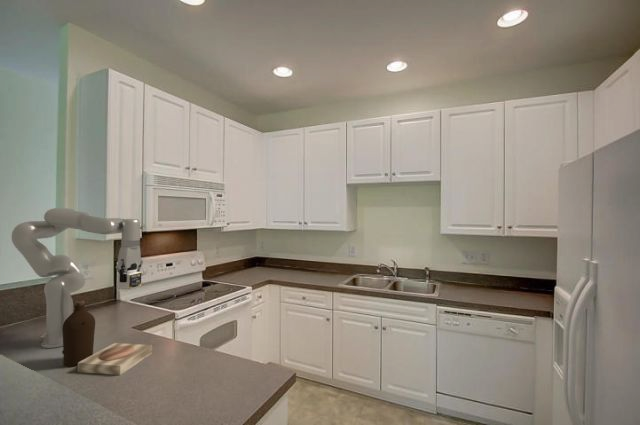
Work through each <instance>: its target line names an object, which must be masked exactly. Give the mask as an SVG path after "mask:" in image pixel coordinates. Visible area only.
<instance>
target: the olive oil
mask: <svg viewBox="0 0 640 425" xmlns="http://www.w3.org/2000/svg"><path fill="white" fill-rule="evenodd" d="M85 308H86V303H85V300H83V299H82V300H80V299H79V300H76V301H75V302H74V304H73V313H72V314H71V315H70V316H69V317H68V318H67V319H66V320H65V321H64V324H63V327H62V333H63V346H62V351H61V354H62V355H63V357H62V358H63V366H64V367H67V368H73V367H78V362H80V361H82V360H84V359H86V358H88V357H90V356H91V355H93V354H94V344H95V343H94V342H95V332H96V331H95V330H96V319H95V317H94V315H93V314H92V313H90V312H89V311H87V309H85Z"/></svg>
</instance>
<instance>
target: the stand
mask: <svg viewBox="0 0 640 425" xmlns="http://www.w3.org/2000/svg"><path fill="white" fill-rule="evenodd" d="M152 354H153V345H152V344H137V343H136V344H135V343H122V342H114V343H112V344H109V346H107V347H105V348H102V349H101V350H99V351H96V352H95V353H93V355H91V356H90V357H88V358H86V359H84V360H82V361H80V362H78V366H77V372H78V373H88V374H103V375H113V376H114V375H116V376H121V375H123V374H124V373H126V372H127V371H128V370H130V369H131V368H133V367H134V366H136V365H138V363H140V362H141V361H143V360H144V359H146V358H147V357H149V356H150V355H152Z"/></svg>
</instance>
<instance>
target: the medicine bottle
mask: <svg viewBox="0 0 640 425" xmlns="http://www.w3.org/2000/svg"><path fill="white" fill-rule="evenodd" d="M124 267H125V266H124ZM123 271H124V269H123ZM136 271H137V263H133V264H131V267H130V268H128V269H127V272H126V274H127V282H120V274H119V272H117V283H116V285H117V286H116V288H117V289H123V290H132V289H136V288H138V287H141V286H142V271H139V272H136Z"/></svg>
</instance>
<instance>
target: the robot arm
mask: <svg viewBox="0 0 640 425" xmlns="http://www.w3.org/2000/svg"><path fill="white" fill-rule="evenodd" d="M43 218H44V220H36V221H35V220H33V221H24V222H21V223H18V224H17V225H16V226H15V227H14V228H13V230H12V232H11V241H12V242H11V243H12V244H13V246H14V247H15V248H16V250H18V252H19V253H20V254H21V255H22V256H23V257H24V259H25V261H26V262H27V263H28V264H29V266H30V267H31V268H32V270H33V271H34V273H35V274H36V275H37V276H38V277H40V278H50V277H51V279H49V280H47V282H46V283H45V285H44V288H43V292H44V296H45V302H46V313H45V314H46V319H45V320H46V321H45V322H46V323H45V324H46V325H45V326H46V327H45V332H43V333H42V335H40V339H43V342H41V346H40V347H41V348H43V349H56V348H60V347H63V333H62V327H63V324H64V321H65V320H66V319H67V318H68V317H69V316H70V315H71V314H72V313H73V312H74V301H73V298H72V295H71V294H72V293H75V292H76V291H79V290H81V289H82V288H84V286H85V284H86V280H85V279H86V278H85V275H84V274H83V273H82V271H81V270H80V269H79V268H78V266H77V265H76V263H75V261H74V260H73V259H72V258H70V257H69V256H67V255H64V254H57V255H53V254H52V253H51V251H50V250H49V249H48V247H46V245H44V244H43V243H42V242H40V241H39V240H38V239H48V238H54V237H55V236H57V235H59V234H61V233H62V232H64V231H66V230H68V229H75V230H79V231H82V232H87V233H93V234H99V235H113V234H114V235H115V234H121V242H120V243H121V245H120V246H121V247H120V248H119V252H118V255H117V256H118V257H117V265H116V266H115V270H117V273H119V274H120V282H127V274H126V272H127V269H128V268H130V267H131V264H133V263H137V271H136V272H140V271H141V268H142V265H143V262H144V261H143V260H142V258H141V256H142V255H141V243H140V241H141V220H140V219H137V218H126V219H125V218H120V217H119V218H118V217H114V218H113V217H111V218H110V217H107V218H106V217H98V216H93V215H90V214H88V213H87V212H85V211H78V210H74V209H72V208H65V207H64V208H63V207H55V208H50V209H48V210H47V211H46V212H45V213H44V215H43ZM124 266H125V267H124ZM123 269H124V271H123Z"/></svg>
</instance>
